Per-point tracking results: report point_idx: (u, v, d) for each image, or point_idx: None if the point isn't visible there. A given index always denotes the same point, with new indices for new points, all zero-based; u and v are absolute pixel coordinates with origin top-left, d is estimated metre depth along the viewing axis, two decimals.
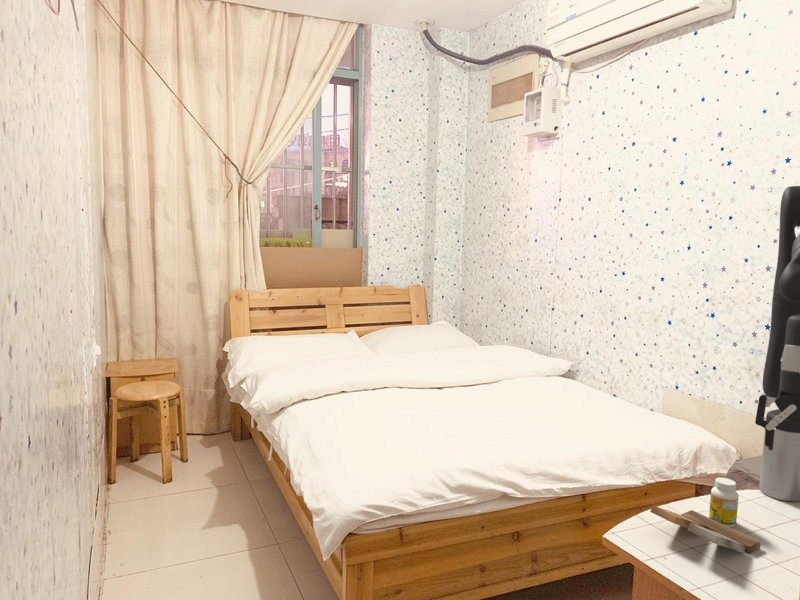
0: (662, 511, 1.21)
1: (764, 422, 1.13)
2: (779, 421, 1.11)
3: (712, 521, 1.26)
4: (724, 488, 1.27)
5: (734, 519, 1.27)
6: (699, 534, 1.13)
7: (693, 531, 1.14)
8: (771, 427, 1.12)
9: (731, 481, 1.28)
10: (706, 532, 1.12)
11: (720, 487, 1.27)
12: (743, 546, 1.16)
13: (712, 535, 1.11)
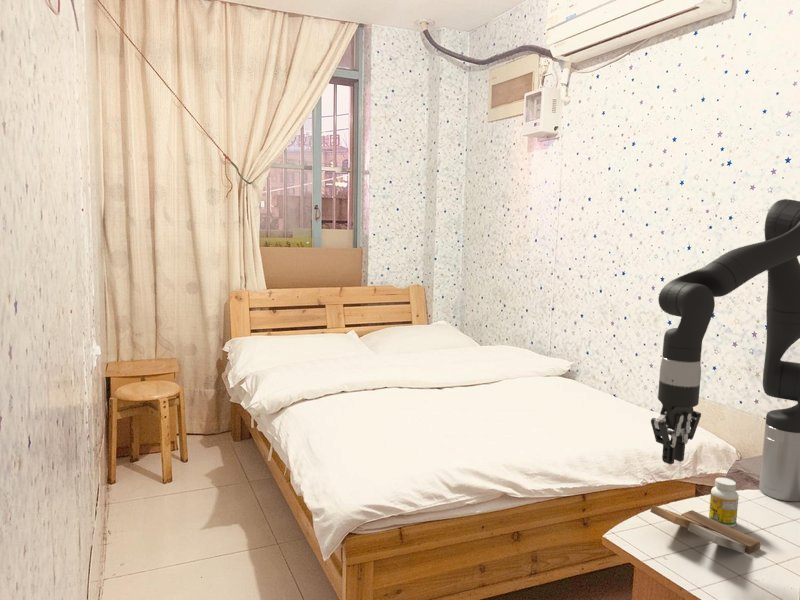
0: (662, 511, 1.21)
1: None
2: None
3: (712, 521, 1.26)
4: (724, 488, 1.27)
5: (734, 519, 1.27)
6: (699, 534, 1.13)
7: (693, 531, 1.14)
8: None
9: (731, 481, 1.28)
10: (706, 532, 1.12)
11: (720, 487, 1.27)
12: (743, 546, 1.16)
13: (712, 535, 1.11)
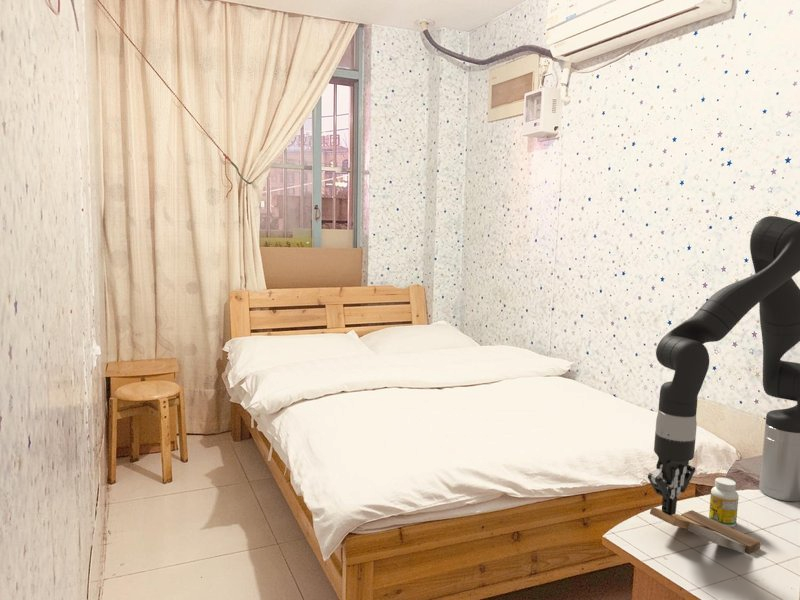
0: (661, 513, 1.21)
1: None
2: None
3: (712, 521, 1.26)
4: (724, 488, 1.27)
5: (734, 519, 1.27)
6: (699, 534, 1.13)
7: (693, 531, 1.14)
8: None
9: (731, 481, 1.28)
10: (706, 532, 1.12)
11: (719, 487, 1.27)
12: (743, 546, 1.16)
13: (712, 535, 1.11)
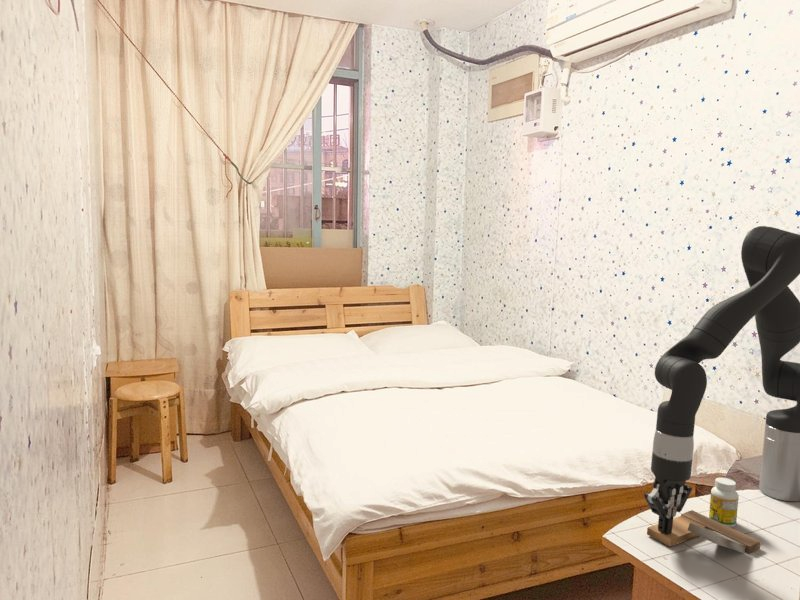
0: (657, 534, 1.21)
1: None
2: None
3: (712, 521, 1.26)
4: (724, 488, 1.27)
5: (734, 519, 1.27)
6: (699, 534, 1.13)
7: (693, 531, 1.14)
8: None
9: (731, 481, 1.28)
10: (706, 532, 1.12)
11: (720, 487, 1.27)
12: (743, 546, 1.16)
13: (712, 535, 1.11)
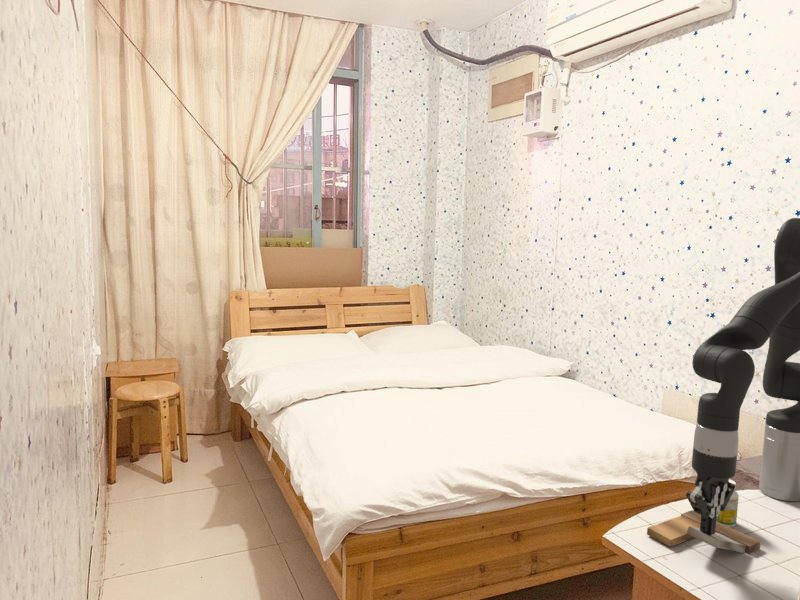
0: (657, 534, 1.21)
1: None
2: None
3: None
4: None
5: (734, 519, 1.27)
6: (698, 537, 1.13)
7: (692, 534, 1.14)
8: None
9: (731, 481, 1.28)
10: (705, 535, 1.12)
11: None
12: (743, 546, 1.16)
13: (711, 538, 1.11)
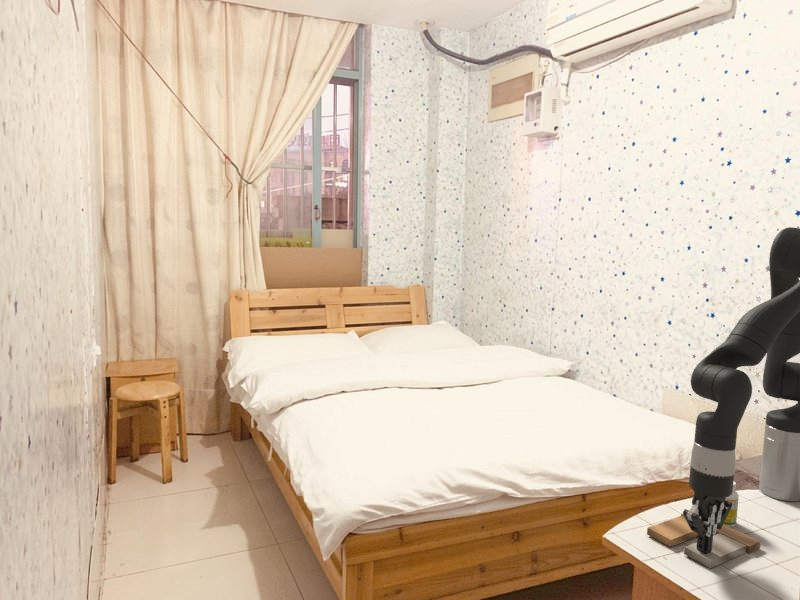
0: (657, 534, 1.21)
1: None
2: None
3: None
4: None
5: (734, 519, 1.27)
6: (695, 558, 1.14)
7: (689, 555, 1.15)
8: None
9: None
10: (701, 557, 1.12)
11: None
12: (743, 548, 1.16)
13: (707, 560, 1.11)
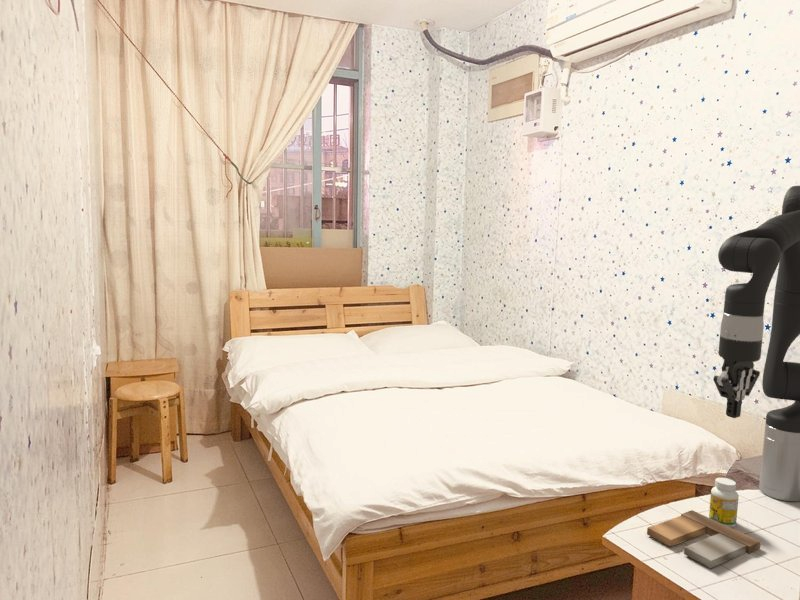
0: (657, 534, 1.21)
1: None
2: None
3: (712, 521, 1.26)
4: (724, 488, 1.27)
5: (734, 519, 1.27)
6: (695, 558, 1.14)
7: (689, 555, 1.15)
8: None
9: (731, 481, 1.28)
10: (701, 557, 1.12)
11: (720, 487, 1.27)
12: (743, 548, 1.16)
13: (707, 560, 1.11)
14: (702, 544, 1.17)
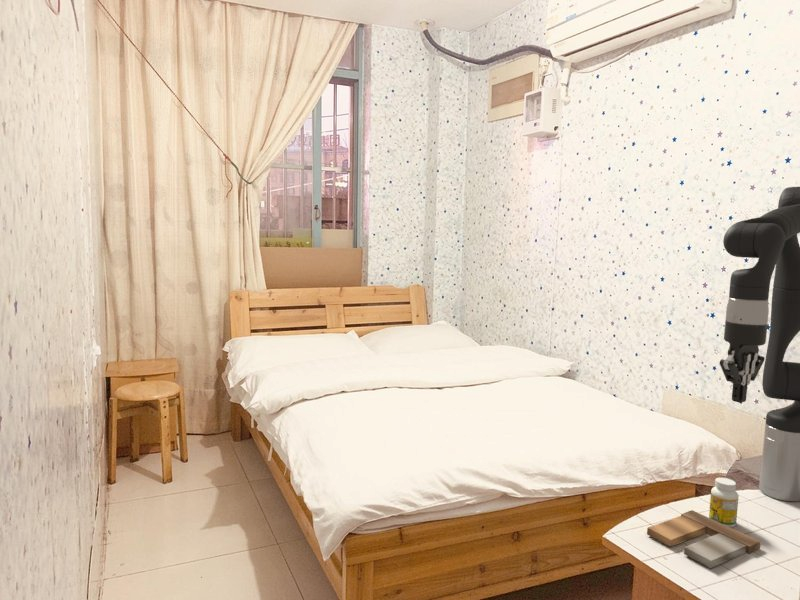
0: (657, 534, 1.21)
1: None
2: None
3: (712, 521, 1.26)
4: (724, 488, 1.27)
5: (734, 519, 1.27)
6: (695, 558, 1.14)
7: (689, 555, 1.15)
8: None
9: (731, 481, 1.28)
10: (701, 557, 1.12)
11: (720, 487, 1.27)
12: (743, 548, 1.16)
13: (707, 560, 1.11)
14: (702, 544, 1.17)
